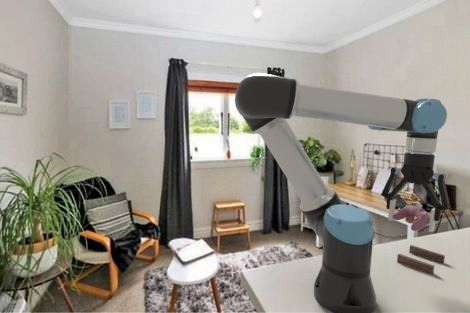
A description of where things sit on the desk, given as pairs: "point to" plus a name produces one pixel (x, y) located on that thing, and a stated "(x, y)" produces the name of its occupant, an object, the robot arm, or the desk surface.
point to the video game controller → (413, 216)
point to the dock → (420, 264)
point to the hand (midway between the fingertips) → (410, 225)
